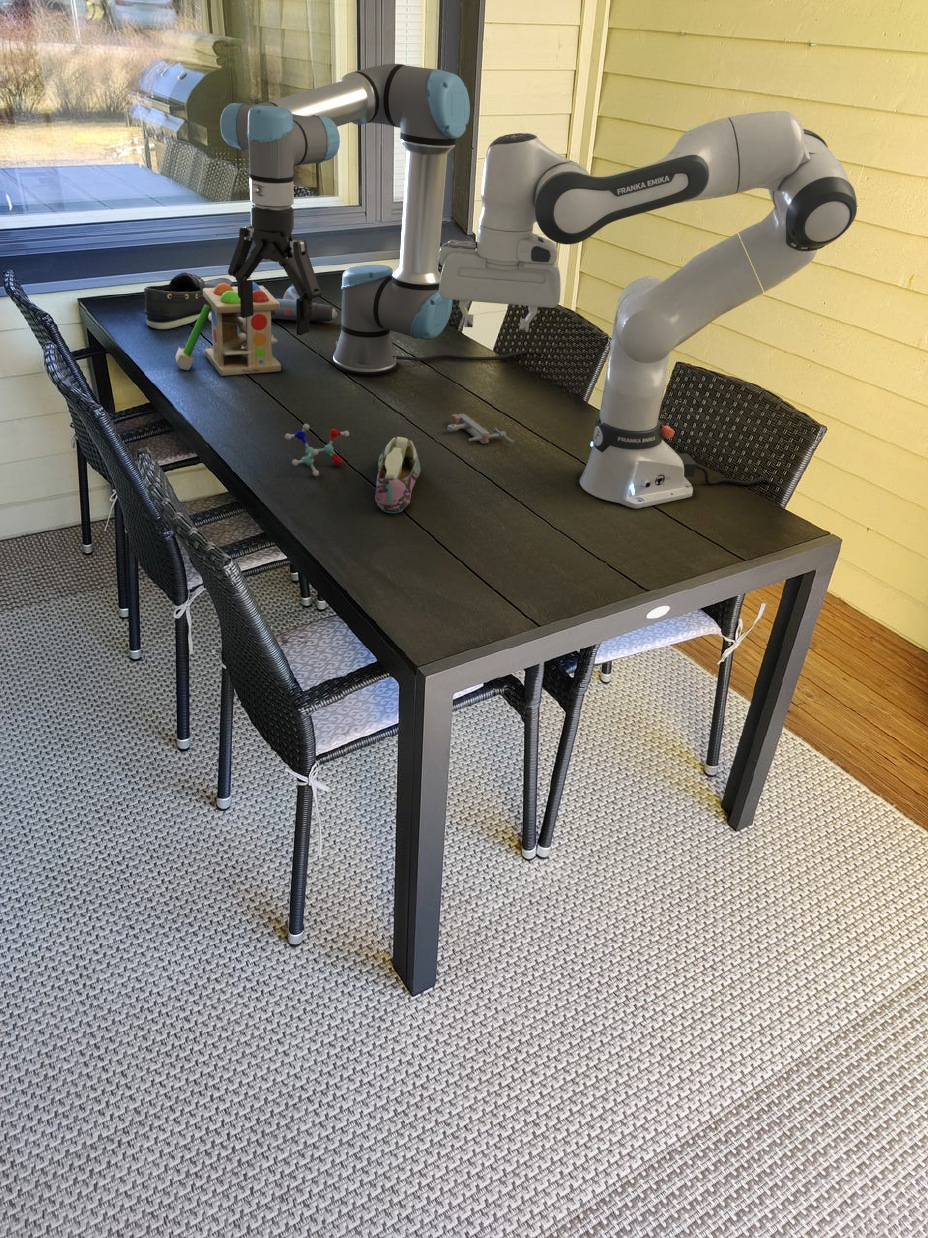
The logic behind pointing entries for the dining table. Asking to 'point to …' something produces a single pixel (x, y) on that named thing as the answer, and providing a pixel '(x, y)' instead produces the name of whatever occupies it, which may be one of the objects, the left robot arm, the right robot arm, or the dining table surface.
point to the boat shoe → (178, 300)
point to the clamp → (468, 424)
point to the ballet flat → (396, 475)
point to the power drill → (289, 308)
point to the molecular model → (313, 452)
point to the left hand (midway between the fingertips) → (274, 324)
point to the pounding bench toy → (235, 333)
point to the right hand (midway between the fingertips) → (496, 328)
